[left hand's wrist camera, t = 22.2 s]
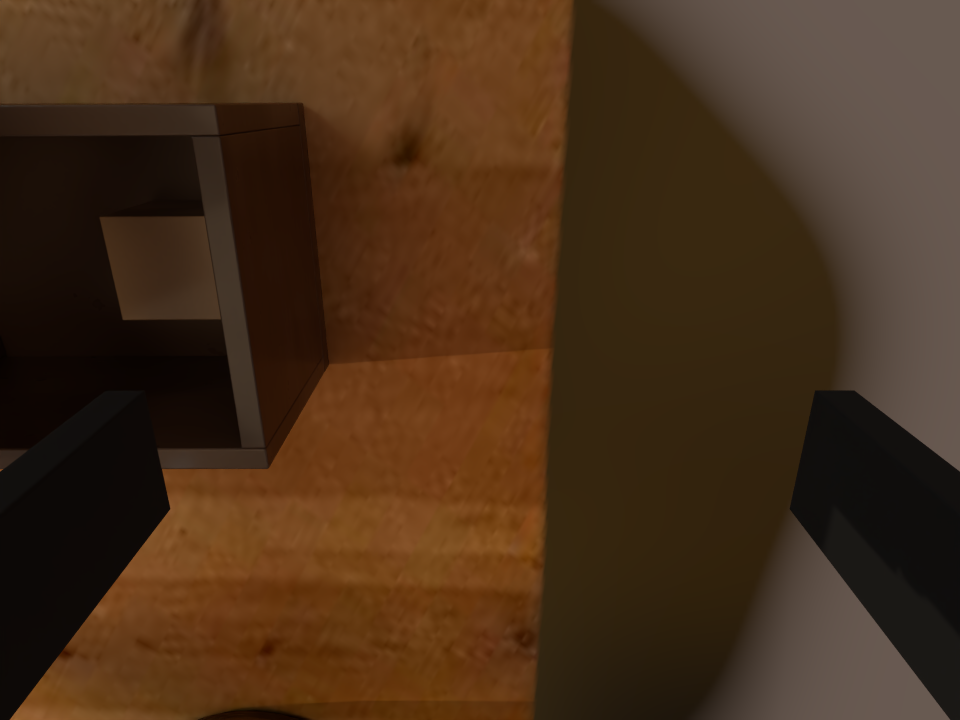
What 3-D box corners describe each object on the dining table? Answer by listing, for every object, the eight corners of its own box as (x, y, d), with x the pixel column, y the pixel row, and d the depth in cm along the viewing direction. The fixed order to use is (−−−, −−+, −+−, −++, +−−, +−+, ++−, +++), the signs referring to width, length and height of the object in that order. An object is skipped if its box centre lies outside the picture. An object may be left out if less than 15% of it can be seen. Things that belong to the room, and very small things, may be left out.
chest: (303, 102, 28) (214, 104, 19) (328, 365, 33) (268, 469, 24) (-73, 104, 28) (-345, 105, 19) (7, 365, 33) (-180, 470, 24)
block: (245, 200, 29) (208, 215, 25) (258, 291, 31) (225, 320, 27) (151, 200, 29) (98, 216, 25) (169, 292, 31) (122, 320, 27)
